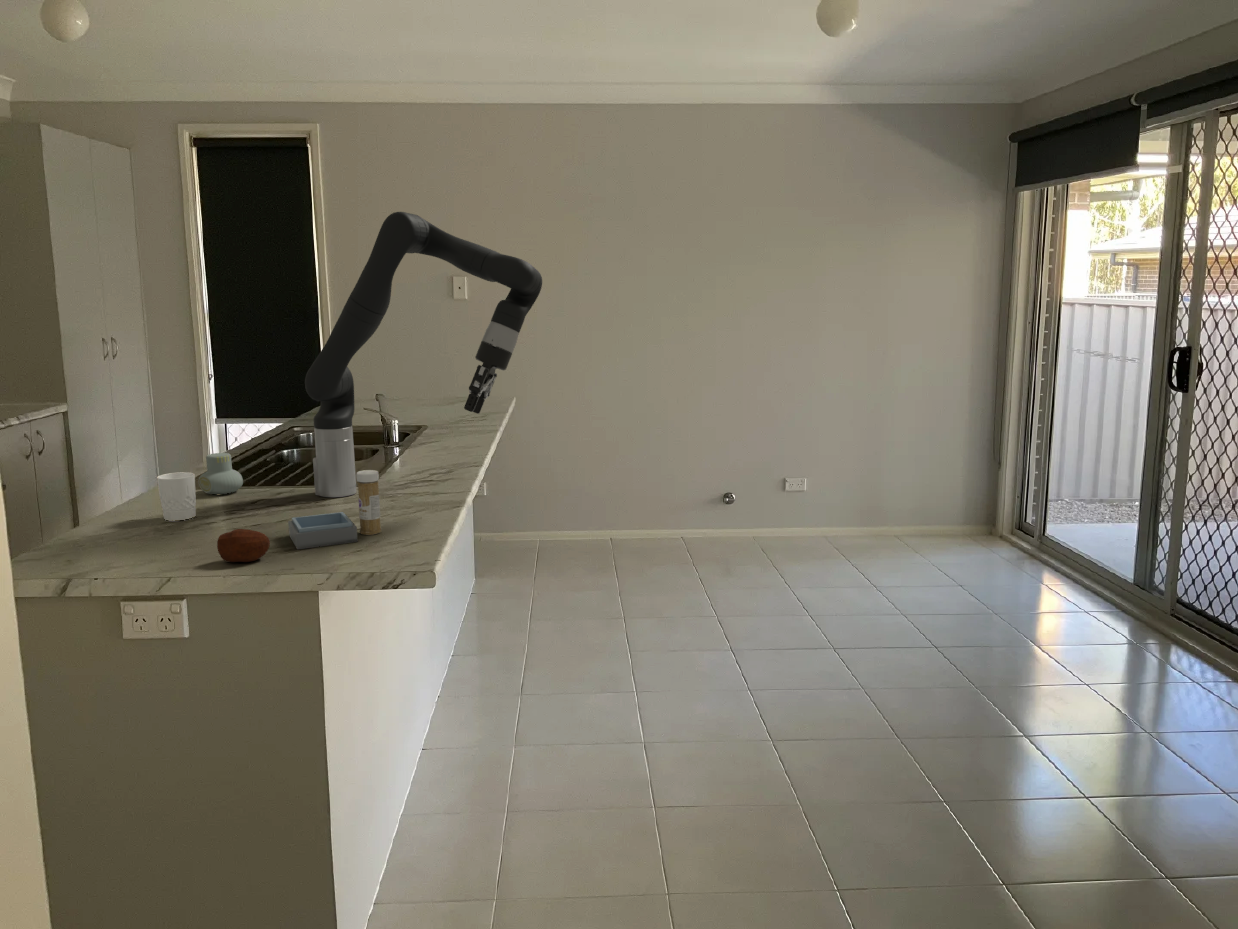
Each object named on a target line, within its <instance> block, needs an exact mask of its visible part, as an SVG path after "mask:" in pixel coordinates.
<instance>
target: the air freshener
mask: <svg viewBox="0 0 1238 929" xmlns="http://www.w3.org/2000/svg"><path fill="white" fill-rule="evenodd" d="M205 459H206V461H205V462H206V471H205V472H204V473H202V474H201V475H200V476H199V477H198V486H199V487H200V489H201V491H202V492H203V493H206V494H207V495H209V494H224V495H228V494H227V493H229V494H232V493H235V492H236V491H238V490H240V488H242V486H243V484H244V479H243V476H242V474H241V473H240V472H239V471H237V470H235V469H233V466H232V465H233V464H232V455H231V454H230V453H229V452H217V453H210V454H207V455H206V456H205ZM231 492H232V493H231Z"/></svg>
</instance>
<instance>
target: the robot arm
mask: <svg viewBox="0 0 1238 929" xmlns="http://www.w3.org/2000/svg"><path fill="white" fill-rule="evenodd" d="M406 254H418V255H419V254H420V255H424V256H430V257H435V258H438V259H440V260H442V261H444V262H447V263H449V264H450V265H452V266H454V267H456V268H457V269H458V270H460V271H463V272H465V273H467V274H469V275H472V276H474V277H477V278H479V279H481V280H484V281H487V282H490V283H498V284H501V285H503V286H505V287H507V288H509V289H510V290H509V292H508V294H507V296H506V297H505V299H501V300H500V301H499V302H498V303H497V305H496V307H495V309H494V312H493V313H492V314H493V315H492V317H491V319H490V322H489V324H488V326H487V328H486V329H485V331H484V334H483V336H482V339H481V342H480V343H479V347H478V349H477V352H476V354H475V356H474V357H475V360H477V361H479V362H480V363H482V364H481V365H480V364H478V365H477V366H476V371H475V372H474V375H473V378H472V379H471V383H470V384H469V386H468V392H469V394H468V397H467V399H466V401H465V404H464V407H463V408H464V410H465V411H468V412H469V413H470V412H471V413H474V414H477V415H479V414H480V413H481V412H482V408H483V406H484V403H485V402H486V401H485V400H486V399H488V398H489V397H490V396H491V391H492V389H493V387H494V384H495V381H496V379H497V377H498V373H496V370H497V369H498V370H501V371H506V370H507V368H508V367H509V366H508V365H509V363H510V360H511V358H512V355H513V353H514V350H515V349H516V345H517V343H518V342H517V341H518V338H519V336H520V332H521V330H522V327H523V325H524V322H525V318H526V316H527V314H528V313H529V312H530V310H531V309H532V307H533V306H534V304H535V302H536V301H537V299H538V297H539V295H540V294H541V290H542V287H543V277H542V274H541V273H540V271H539V270H538V269H537V268H536V267H534V266H533V265H532V263H530V262H528V261H527V260H523V259H521V258H519V257H516V256H512V255H507V254H502V253H500V252H498V251H496V250H493V249H491V248H488V247H486V246H483V245H480V244H478V243H475V242H471V241H469V240H466V239H463V238H460V237H457V236H456V235H453V234H451V233H448V232H446V231H444V230H442V229H441V228H439V227H437V226H436V225H435V224H433V223H431V222H429V221H428V220H426V219H424V218H423V217H421V216H420V215H418V214H415V213H410V212H406V211H395V212H392V213H390V214H389V215H388V216H387V217H386V218H385V220H384V221H383V223H382V224H381V227H380V229H379V232H378V234H377V236H376V239H375V242H374V244H373V247H372V250H371V252H370V256H369V257H368V260H367V262H366V263H365V266H364V267H363V270H362V271H361V273H360V276H359V278H358V279H357V282H356V283H355V286H354V287H353V288H352V290H351V293H350V294H349V297H348V298H347V300H346V302H345V304H344V306H343V308H342V310H341V313H340V315H339V316H338V319H337V321H336V322H335V324H334V326H333V328H332V331H331V332H330V334H329V337H328V339H327V340H326V342H325V343H324V346H323V347H322V348H321V350H320V352H319V353H318V355H317V356H316V358H315V360H314V361H313V363H312V364H311V366H310V367H309V369H308V370H307V372H306V374H305V378H304V387H305V391H306V393H307V396H309V397H310V398H311V399H312V400H313V401H316V402H320V406H319V409H318V411H317V412H316V414H314V417H313V429H314V445H315V446H314V447H315V457H313V458H312V464H313V465H312V466H313V478H314V492H315V493H314V494H315V496H320V497H324V498H342V497H348V496H353V495H356V494H357V478H356V465H355V464H356V461H355V460H356V459H355V445H354V430H353V418H354V416H355V415H354V414H355V384H354V382H355V381H354V377H353V373H352V372H351V369H350V368H349V367H348V365H349V363H350V362H351V360H352V359H353V357H354V356H355V354H356V353H357V352H358V351H359V350H360V349H361V348H363V346H364V345H365V344H366V343H367V342H368V341H369V340H370V338H371V337H372V336H373V335H374V334H375V332H376V331H377V329H378V328H379V326H380V324H381V323H382V321H383V319H384V317H385V315H386V313H387V311H388V309H389V306H390V304H391V303H390V302H391V296H392V288H393V287H392V286H393V284H392V283H393V279H394V275H395V273H396V271H397V268H398V267H399V265H400V263H401V261H402V260H403V259H404V257H405V255H406Z"/></svg>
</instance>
